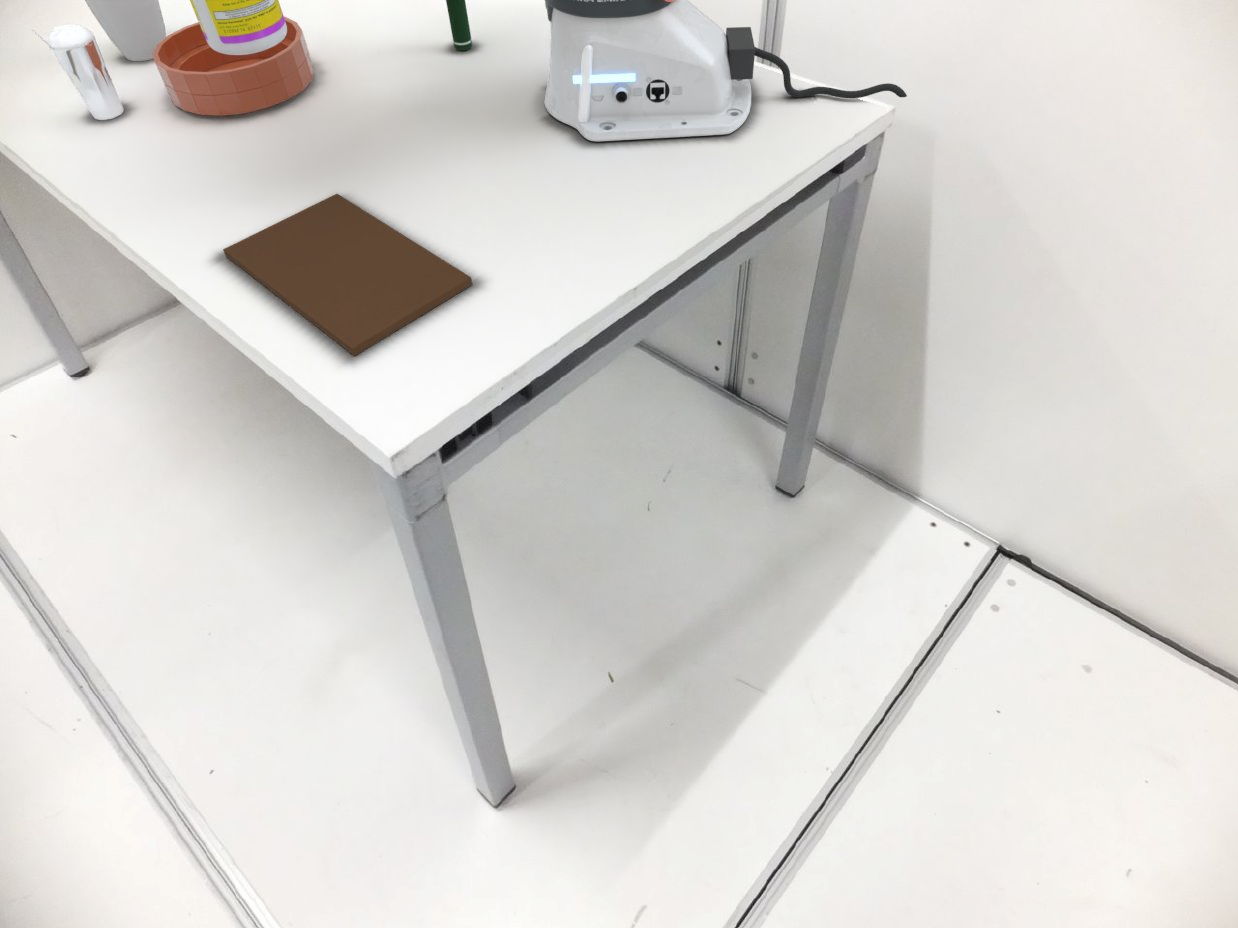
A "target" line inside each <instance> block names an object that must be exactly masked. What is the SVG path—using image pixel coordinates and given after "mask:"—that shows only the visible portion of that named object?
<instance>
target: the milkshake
mask: <svg viewBox="0 0 1238 928" xmlns="http://www.w3.org/2000/svg"><path fill="white" fill-rule="evenodd" d="M31 31H32V32H33V33H34V34H35V35H36V36H37V37H38V38H39V39H40V40H42V41H43V42H44V43H45V44H46V45H47V47H48V48H49V50H50V52H51V54H53V56H54V57H55V60H56V61H57V62H58V63H59V65H60V67H61V68H62V70H63V71H64V72H65V74H66V75H67V77H68V79H69V81H70V82H71V84H72V85H73V86H74V88H75V90H76V91H77V93H78V95H79V96H80V98H81V100H82V101H83V103H84V104H85V106H86V108H87V109H88V111H89V112H90V114H91V116H92V117H93V118H94V119H95V120H98V121H108V120H112V119H115V118H117V117H119V116H121V115H123V113H124V111H125V109H124V107H123V104H122V102H121V99H120V97H119V94H118V93H117V90H116V88H115V85H114V83H113V80H112V78H111V75H110V73H109V71H108V69H107V66H106V63H105V60H104V58H103V55H102V52H101V50H100V48H99V45H98V42H97V40H96V37H95V34H94V33H93V31H92V30H91V29H89V28H88V27H86V26H83V25H81V24H69V23H67V24H63V25H60V26H54V27H53V28H52V30H51V31H50V33H49V34H48V35H47V36H46V40H45V39H44V38H43V37H42V36H40V34H39V33H38V32H36V31H35V30H34V29H31Z"/></svg>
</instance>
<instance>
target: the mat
mask: <svg viewBox="0 0 1238 928" xmlns="http://www.w3.org/2000/svg"><path fill="white" fill-rule="evenodd" d="M222 251H223V253H224V256H225V257H226V258H227V259H229V261H231V262H232V263H234V264H235V265H236V266H237V267H239V268H240V269H241V270H242V271H244V272H245V273H246V274H247V275H249V276H250V277H251V278H253V279H254V280H255V281H257V282H258V283H259V284H260V285H262V286H263V287H265V289H267V290H268V291H270V292H271V293H272V294H274V295H275V297H277V298H279V299H280V300H281V301H282V302H284V303H285V304H287V306H288V307H290V308H291V309H293V310H294V311H295V312H297V314H299V315H301V316H302V317H303V318H304V319H305V320H307V321H309V322H310V323H311V324H312V325H314V326H315V327H316V328H317V329H319V330H320V331H321V332H322V333H324V334H325V335H326V336H328V338H330V339H331V340H333V341H334V342H336V344H338V345H339V346H340V347H341V348H343V349H344V350H346V351H347V352H348V353H349V354H351V355H352V356H354V357H356V356H357V355H358V354H360V353H362V352H364V351H366V350H368V349H369V348H370V347H372V346H374V345H376V344H377V343H379V342H380V341H382V340H383V339H385V338H387V337H388V336H391V335H392V334H394V333H395V332H397V331H399V330H400V329H402V328H404V327H405V326H407V325H409V324H411V323H412V322H413V321H415V320H417V319H418V318H420V317H421V316H423V315H425V314H427V313H428V312H430V311H432V310H433V309H435V308H437V307H438V306H440V305H442V304H444V303H445V302H446V301H448V300H450V299H452V298H453V297H455V296H456V295H458V294H460V293H461V292H463V291H465V290H466V289H468V288H470V287H471V286H473V281H472V277H471V276H470V275H468V274H467V273H465V272H464V271H462V270H460V269H459V268H456V267H455V266H453V265H452V264H450V263H449V262H447V261H446V260H444V259H442V258H441V257H439V256H438V255H436V254H434V253H432V252H431V251H430V250H428V249H426V248H424V247H423V246H422V245H420V244H419V243H417V242H415V241H414V240H412V239H410V238H409V237H407V236H406V235H404V234H402V233H401V232H399V231H397V229H394V228H393V227H391V226H390V225H388V224H386V223H385V222H383V221H382V220H380V219H379V218H377V217H375V216H374V215H372V214H371V213H369V212H367V211H366V210H364V209H362V208H361V207H360V206H358V205H356V204H354V203H353V202H351V201H350V200H348V199H347V198H345V197H344V196H342V195H340V194H339V193H335V194H333V195H331V196H329V197H327V198H325V199H323V200H321V201H319V202H317V203H315V204H313V205H310V206H308V207H306V208H305V209H302V210H300V211H299V212H296V213H294V214H292V215H290V216H288V217H286V218H284V219H281V220H280V221H277V222H276V223H273V224H272V225H269V226H268V227H266V228H264V229H261V230H260V231H258V232H255V233H254V234H252V235H251V234H250V235H249V236H248V237H245V238H244V239H243V238H242V239H241V240H239V241H237V242H235V243H233V244H230V245H229V246H227V247H225V248H223V249H222Z"/></svg>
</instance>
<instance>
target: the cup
mask: <svg viewBox="0 0 1238 928" xmlns="http://www.w3.org/2000/svg"><path fill="white" fill-rule="evenodd" d="M84 1H85V3H86V5H87V7H88V9H89V10H90V12H91V14H92V15H93V16H94V18H95V19H96V21H97V22H98V23H99V25H100V27H101V29H103V31H104V33H105V34H106V35H107V37H108V39H109V40H110V41H111V42H112V44H114V46H115V47H116V49H118V50H119V52H120V53H121V54H122V55H123V56H124V57H125V59H127V60H128V61H132V62H143V61H145V62H146V61H150V60H154V58H153V52H154V50H155V48H156V46H157V44H159V43H160V42H161V41H162V40H163V39H165V38H166V37H167V30H166V25H165V21H164V16H163V12H162V9H161V5H160V1H159V0H84Z"/></svg>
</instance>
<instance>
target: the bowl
mask: <svg viewBox="0 0 1238 928" xmlns="http://www.w3.org/2000/svg"><path fill="white" fill-rule="evenodd" d="M284 19H285V22H286V25H287V34H286V36H285V38H284V39H283V40H282V41H281V42H280V43H278V44H277V45H275V46H273V47H271V48H269V49H266V50H264V51H261V52H257V53H253V54H247V55H228V54H223V53H220V52H217V51H215V50H213V49H212V48H211V47H210V46H209V44H208V43H207V41H206V38H205V36H204V34H203V31H202V29H201V27H200V24H199V22H194V23H192V24H189V25H186V26H183V27H181V28H180V29H178V30H175V31H174V32H172V33H170V34H168V35H166V38H165V39H163V40H162V41H161V42H160V43H159V44H157V46H156V48H155V50H154V52H153V58H154V59H153V61H154V64H155V66H156V68H157V70H158V73H159V75H160V77H161V79H162V82H163V84H164V86H165V89H166V90H167V92H168V95H169V97H170V100H171V101H172V104H174V105H175V106H176V107H178V108H180V109H181V110H183V111H184V112H189V113H192V114H197V115H200V116H201V115H202V116H231V115H241V114H247V113H252V112H256V111H257V112H258V111H260V110H264V109H267V108H271V107H273V106H276V105H278V104H280V103H284V102H285V101H288V100H290V99H291V98H293V97H294V96H296V95H298V94H299V93H301V92H302V91H304V90H305V89H306V88H307V87H308V86H309V84H310V83H311V82H312V81H313V78H314V72H315V68H314V64H313V62H312V58H311V55H310V52H309V48H308V45H307V41H306V38H305V35H304V32H303V30H302V27H301V26H300V25H299V23H298V22H297V21H295V20H293V19H291V18H289V17H287V16H284Z"/></svg>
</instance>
